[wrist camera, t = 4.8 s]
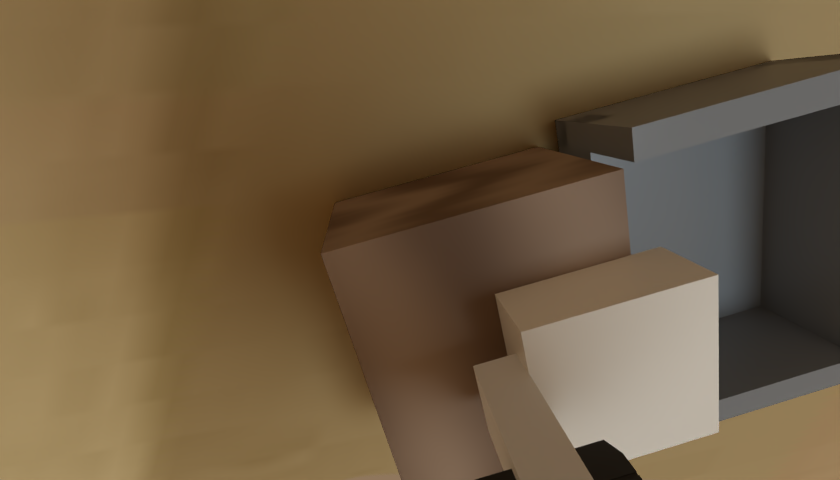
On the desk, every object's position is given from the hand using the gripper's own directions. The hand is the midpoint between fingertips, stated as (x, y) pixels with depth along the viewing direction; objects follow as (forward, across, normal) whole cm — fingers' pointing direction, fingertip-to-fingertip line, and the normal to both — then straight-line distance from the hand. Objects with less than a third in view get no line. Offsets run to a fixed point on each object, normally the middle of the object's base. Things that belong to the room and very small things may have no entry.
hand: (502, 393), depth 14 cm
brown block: (+8, +1, 0) cm, 8 cm away
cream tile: (+1, +4, 0) cm, 4 cm away
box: (+9, +12, 0) cm, 15 cm away
